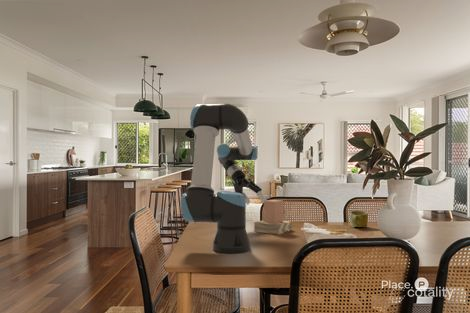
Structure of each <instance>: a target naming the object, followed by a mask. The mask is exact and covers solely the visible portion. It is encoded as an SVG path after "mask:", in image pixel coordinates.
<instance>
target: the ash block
mask: <svg viewBox="0 0 470 313" xmlns="http://www.w3.org/2000/svg"><path fill="white" fill-rule="evenodd" d="M292 225H293V224H292V221H290V220H283V222H280V223H268V222H264V219H262V220H259V221H255V222H254V226H253V227H254V230H253V232H257V233H264V234H272V235H282V234H284V232H285V233H287V231H288V232H291V231H292ZM290 230H291V231H290Z"/></svg>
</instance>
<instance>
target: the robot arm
mask: <svg viewBox="0 0 470 313" xmlns="http://www.w3.org/2000/svg"><path fill="white" fill-rule="evenodd" d="M189 121H190V122H189V123H190V125H189V126H190V128H191V129H192V130H193V133H194V135H195V143H194V144H195V146H194V156H193V164H192V172H191V173H192V174H191V182H190V186H187V188H186V192H184V193H183V194H181V196H180V203H179V204H180V212H181V216H182V218H183V219H184V221H186V222H191V223H192V222H193V223H216V234H215V236H214V239H213V242H212V250H213V251H215V252H218V253H222V254H223V253H224V254H238V253H245V252H249V250H250V249H251V242H250V239H249V236H248V233H247V229H246V228H247V227H246V222H247V221H246V210H247V209H246V207H247V206H248V205H249V204H250V203H251V202H252V201H251V200H250V198H249V197H248V196H247V194H246V192H244V191H243V190H244V188H246V189H249V190H251V191H252V192H254V193H256V196H257V197H258V198H259V200H260V201H261V203H263V204H264V201H266V200H267V199H266V197H265V196H264V194H263V193H262V190H263V189H262V188H261V187H260V186H258V184H256V183H255V182H254V181H252V179H251V178H248V179H247V178H246V174H245V173H244V171H243V170H242V168H241V167H240V166H239V164H237V162H236V161H255V160H256V161H257V160H258V156H259V155H258V154H259V151H258V147H257V146H253V143H252V139H251V136H250V133H249V129H248V128H249V124H250V123H249V120H248V117H247V116H246V114H245V113H244V111H242V110H241V109H240V108H239V107H237V106H236V105H233V104H231V103H209V104H207V103H202V104H196V105H195V106H194V107H193V108H192V110H191V113H190V116H189ZM220 130H229V131H230V132H232V134H233V137H234V140H235V143H236V146H230V145H229V144H227V143H226V142H225V143H220V144H218V145H217V148H216V153H217V156H218V157H217V160H218V161H219V164H221V166H222V168H223V169H224V170H225V171H226V172H227V174H228V176H229V177H230V179H231V180H232V181H231V183H232V185H233V189H234V191H230V190H217V192H216V194H215V190H214V189H213V187H212V182H213V179H212V178H213V170H214V169H213V167H214V159H215V158H214V156H215V146H216V145H215V144H216V137H218V135H219V134H220Z"/></svg>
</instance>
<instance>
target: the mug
mask: <svg viewBox="0 0 470 313" xmlns="http://www.w3.org/2000/svg"><path fill="white" fill-rule="evenodd" d="M368 220H369V216H368V212H366V211H363V210H353V211H350V212H349V221H350V222H349V223H350V224H349V225H350V227H351V226H354V227H366V228H367V227H368Z"/></svg>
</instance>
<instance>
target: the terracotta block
mask: <svg viewBox="0 0 470 313" xmlns="http://www.w3.org/2000/svg"><path fill="white" fill-rule="evenodd" d="M263 220H264V222H268V223H280V222H283V221H284V200H281V199H279V200H278V199H268V200H267V199H266V201H264V203H263Z"/></svg>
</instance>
